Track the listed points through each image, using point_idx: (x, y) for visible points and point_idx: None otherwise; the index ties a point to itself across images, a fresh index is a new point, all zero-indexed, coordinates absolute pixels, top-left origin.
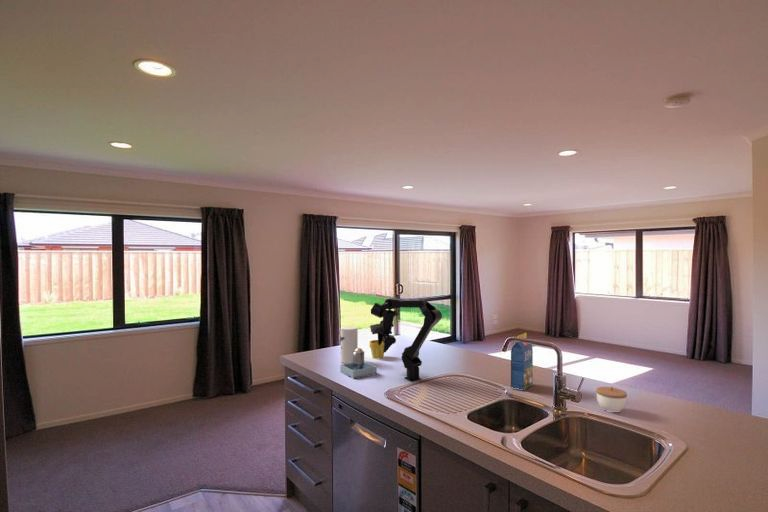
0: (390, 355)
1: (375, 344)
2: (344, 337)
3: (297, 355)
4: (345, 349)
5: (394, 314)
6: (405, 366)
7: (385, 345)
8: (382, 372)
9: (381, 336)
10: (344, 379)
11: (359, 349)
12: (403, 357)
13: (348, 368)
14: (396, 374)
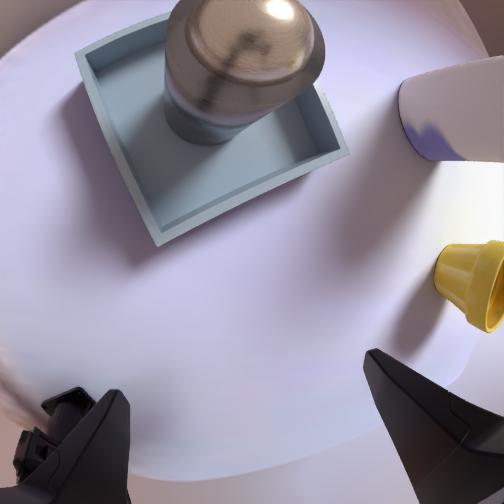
0: (447, 321)
1: (491, 275)
2: None
3: (455, 2)
4: (458, 72)
5: None
6: (29, 434)
7: (46, 477)
8: (198, 281)
9: (430, 466)
10: (97, 30)
11: (221, 11)
12: (22, 469)
13: (151, 20)
14: (150, 360)
